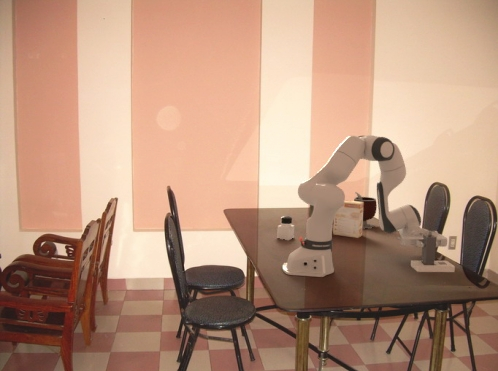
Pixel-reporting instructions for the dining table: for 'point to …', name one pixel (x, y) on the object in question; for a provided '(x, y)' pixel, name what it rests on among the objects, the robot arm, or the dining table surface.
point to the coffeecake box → (349, 219)
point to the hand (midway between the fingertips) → (430, 245)
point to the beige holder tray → (433, 266)
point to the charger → (429, 249)
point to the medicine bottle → (285, 228)
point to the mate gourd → (367, 209)
